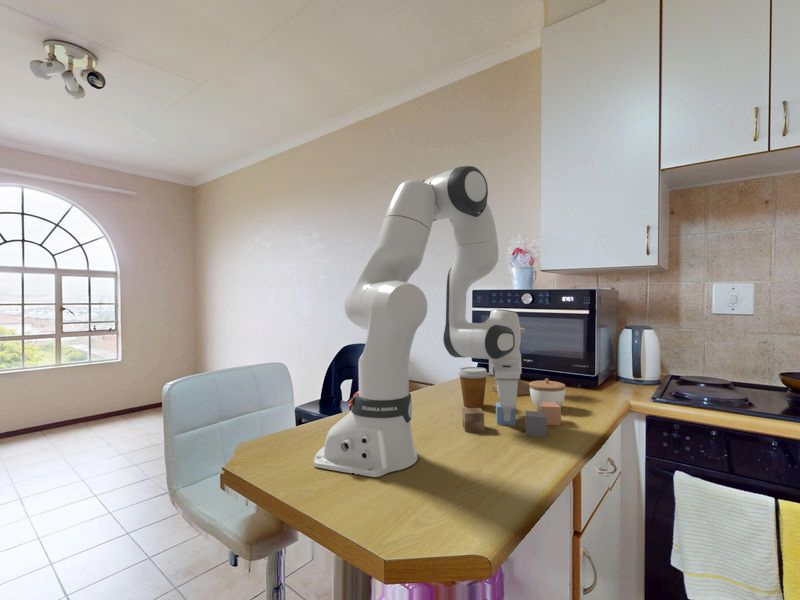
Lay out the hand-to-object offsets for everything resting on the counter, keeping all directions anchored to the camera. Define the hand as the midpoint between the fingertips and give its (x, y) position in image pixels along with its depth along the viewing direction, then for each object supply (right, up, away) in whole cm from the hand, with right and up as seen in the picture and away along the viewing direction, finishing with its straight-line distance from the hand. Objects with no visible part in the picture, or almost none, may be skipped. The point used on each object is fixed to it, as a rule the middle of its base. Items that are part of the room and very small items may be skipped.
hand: (505, 415), depth 110 cm
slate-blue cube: (0, -2, 0) cm, 2 cm away
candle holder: (+12, -2, +35) cm, 37 cm away
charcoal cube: (+5, -2, -9) cm, 11 cm away
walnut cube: (-10, -2, -5) cm, 12 cm away
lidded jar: (+17, -2, +13) cm, 21 cm away
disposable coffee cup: (-6, -2, +17) cm, 19 cm away
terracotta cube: (+12, -2, 0) cm, 12 cm away
